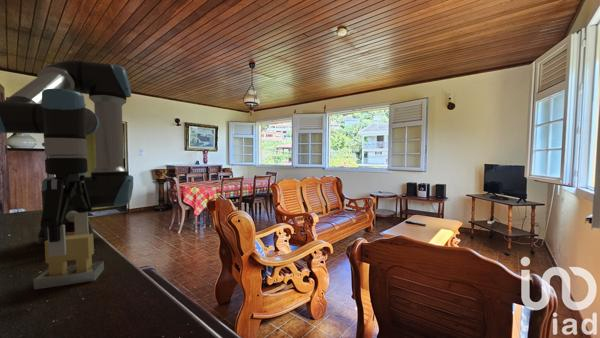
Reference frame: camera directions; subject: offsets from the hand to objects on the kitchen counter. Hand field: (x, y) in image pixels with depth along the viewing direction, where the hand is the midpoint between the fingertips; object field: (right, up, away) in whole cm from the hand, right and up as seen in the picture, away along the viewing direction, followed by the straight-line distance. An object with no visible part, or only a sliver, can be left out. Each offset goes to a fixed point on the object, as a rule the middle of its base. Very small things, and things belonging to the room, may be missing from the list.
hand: (71, 245), depth 64 cm
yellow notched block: (0, -8, 0) cm, 8 cm away
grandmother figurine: (-16, -8, +19) cm, 26 cm away
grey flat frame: (0, -8, 0) cm, 8 cm away
